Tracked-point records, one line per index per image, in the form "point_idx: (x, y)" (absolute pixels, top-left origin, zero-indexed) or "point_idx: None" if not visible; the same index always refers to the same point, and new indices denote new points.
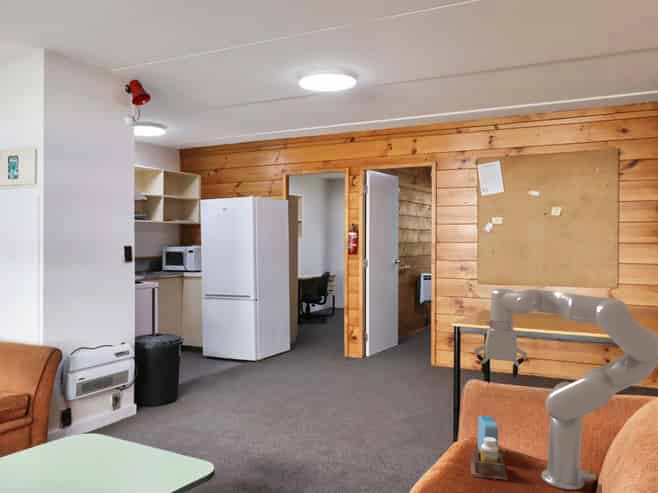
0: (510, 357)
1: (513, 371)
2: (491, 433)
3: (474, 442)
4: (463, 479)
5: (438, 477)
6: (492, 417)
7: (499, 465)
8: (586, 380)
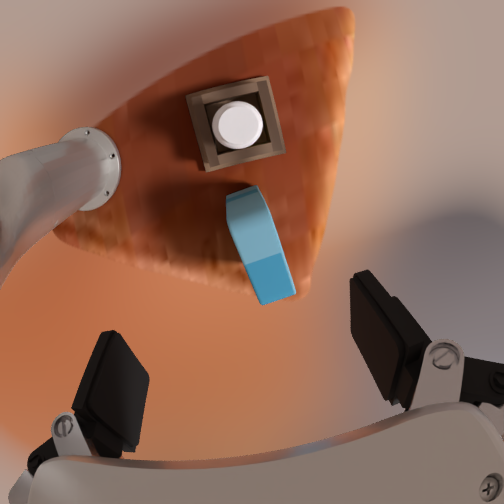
0: (74, 494)
1: (117, 380)
2: (245, 207)
3: None
4: (282, 57)
5: (333, 48)
6: (257, 295)
7: (204, 94)
8: None
